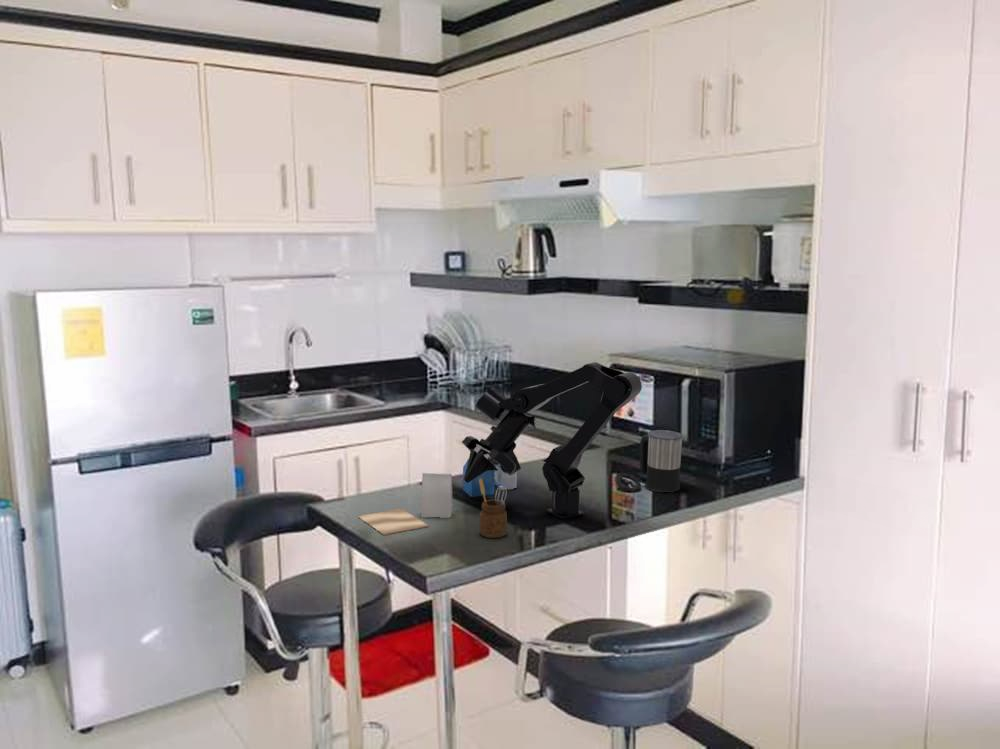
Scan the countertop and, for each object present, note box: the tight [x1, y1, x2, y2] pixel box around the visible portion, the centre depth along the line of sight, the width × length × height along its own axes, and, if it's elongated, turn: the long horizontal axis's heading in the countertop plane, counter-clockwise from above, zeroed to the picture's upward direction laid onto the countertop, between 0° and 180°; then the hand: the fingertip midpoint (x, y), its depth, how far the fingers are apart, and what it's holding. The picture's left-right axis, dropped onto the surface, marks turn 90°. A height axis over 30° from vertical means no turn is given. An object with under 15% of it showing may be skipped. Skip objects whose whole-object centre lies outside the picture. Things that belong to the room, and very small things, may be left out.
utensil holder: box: [479, 478, 508, 539], centre depth 178 cm, size 6×6×12 cm
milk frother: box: [614, 429, 684, 493], centre depth 215 cm, size 14×16×15 cm
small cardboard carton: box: [420, 472, 453, 519], centre depth 190 cm, size 4×7×10 cm, turn 87°
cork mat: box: [357, 508, 430, 536], centre depth 186 cm, size 14×11×1 cm
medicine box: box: [494, 464, 518, 491], centre depth 216 cm, size 8×4×9 cm, turn 21°
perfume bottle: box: [462, 458, 495, 498], centre depth 209 cm, size 6×6×12 cm
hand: (465, 481), depth 194 cm, fingers closed
